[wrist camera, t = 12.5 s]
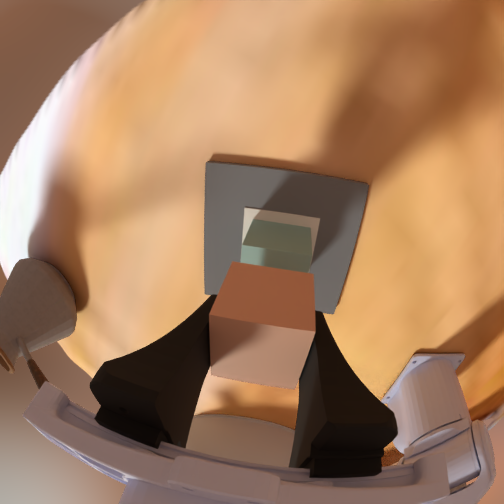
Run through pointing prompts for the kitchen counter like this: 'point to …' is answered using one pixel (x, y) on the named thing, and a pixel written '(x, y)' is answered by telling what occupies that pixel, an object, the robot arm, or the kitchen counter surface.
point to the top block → (262, 325)
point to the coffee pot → (34, 313)
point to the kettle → (241, 439)
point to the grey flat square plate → (282, 219)
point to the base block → (278, 246)
